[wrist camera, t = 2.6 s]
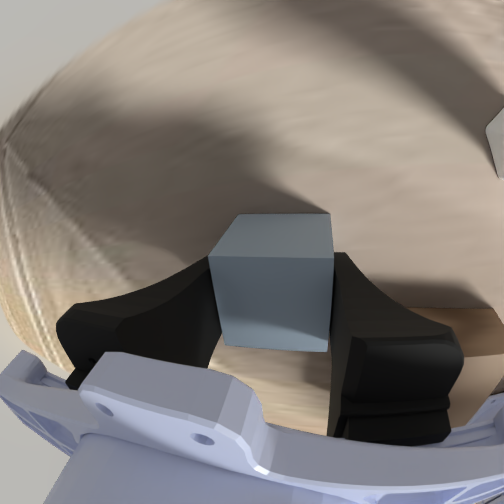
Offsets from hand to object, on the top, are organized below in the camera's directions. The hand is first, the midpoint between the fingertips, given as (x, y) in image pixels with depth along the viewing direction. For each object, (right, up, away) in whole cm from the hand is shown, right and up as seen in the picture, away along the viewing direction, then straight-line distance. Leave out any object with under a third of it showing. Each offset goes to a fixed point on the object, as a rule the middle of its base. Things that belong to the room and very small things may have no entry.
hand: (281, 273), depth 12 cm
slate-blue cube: (0, +1, +1) cm, 2 cm away
